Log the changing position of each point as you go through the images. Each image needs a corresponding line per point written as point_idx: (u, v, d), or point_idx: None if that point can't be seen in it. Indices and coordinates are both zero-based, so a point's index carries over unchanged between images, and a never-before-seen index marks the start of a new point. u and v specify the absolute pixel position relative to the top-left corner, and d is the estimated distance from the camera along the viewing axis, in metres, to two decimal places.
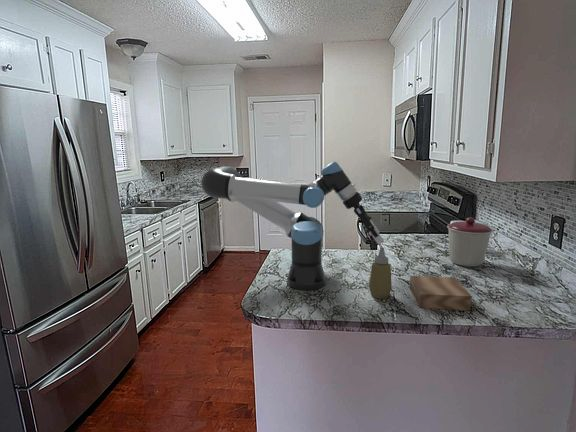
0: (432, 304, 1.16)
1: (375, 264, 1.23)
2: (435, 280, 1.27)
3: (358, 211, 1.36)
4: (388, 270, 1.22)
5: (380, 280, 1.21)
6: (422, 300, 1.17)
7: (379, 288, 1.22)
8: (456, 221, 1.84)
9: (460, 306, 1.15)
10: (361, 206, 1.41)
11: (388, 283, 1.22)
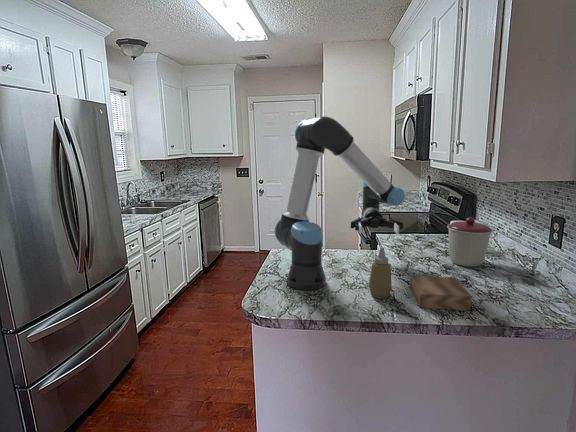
0: (432, 304, 1.16)
1: (375, 264, 1.23)
2: (435, 280, 1.27)
3: None
4: (388, 270, 1.21)
5: (380, 280, 1.21)
6: (422, 300, 1.17)
7: (379, 288, 1.22)
8: (456, 221, 1.84)
9: (460, 306, 1.15)
10: (378, 224, 1.46)
11: (388, 283, 1.22)
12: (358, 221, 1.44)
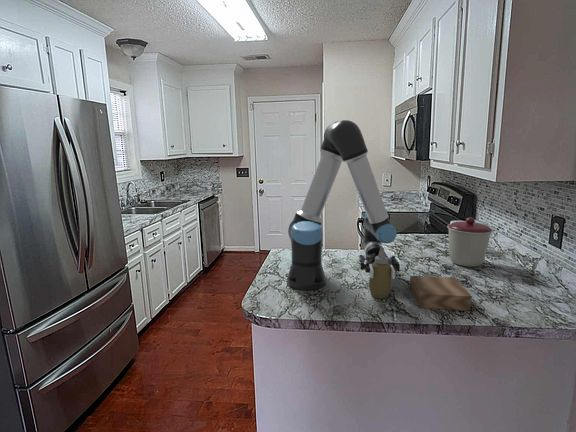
0: (432, 304, 1.16)
1: (375, 264, 1.23)
2: (435, 280, 1.27)
3: None
4: (388, 270, 1.21)
5: (380, 280, 1.21)
6: (422, 300, 1.17)
7: (379, 288, 1.22)
8: (456, 221, 1.84)
9: (460, 306, 1.15)
10: None
11: (388, 283, 1.22)
12: (363, 260, 1.32)
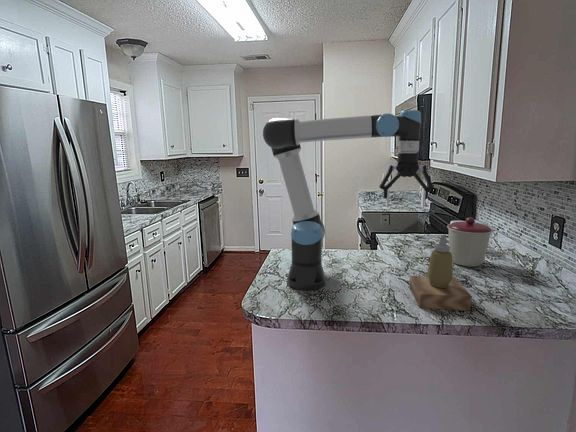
0: (432, 304, 1.16)
1: (436, 252, 1.19)
2: None
3: None
4: (450, 258, 1.18)
5: (442, 268, 1.18)
6: (422, 300, 1.17)
7: (441, 276, 1.18)
8: (456, 221, 1.84)
9: (460, 306, 1.15)
10: (404, 168, 1.35)
11: (450, 272, 1.19)
12: (424, 176, 1.36)
